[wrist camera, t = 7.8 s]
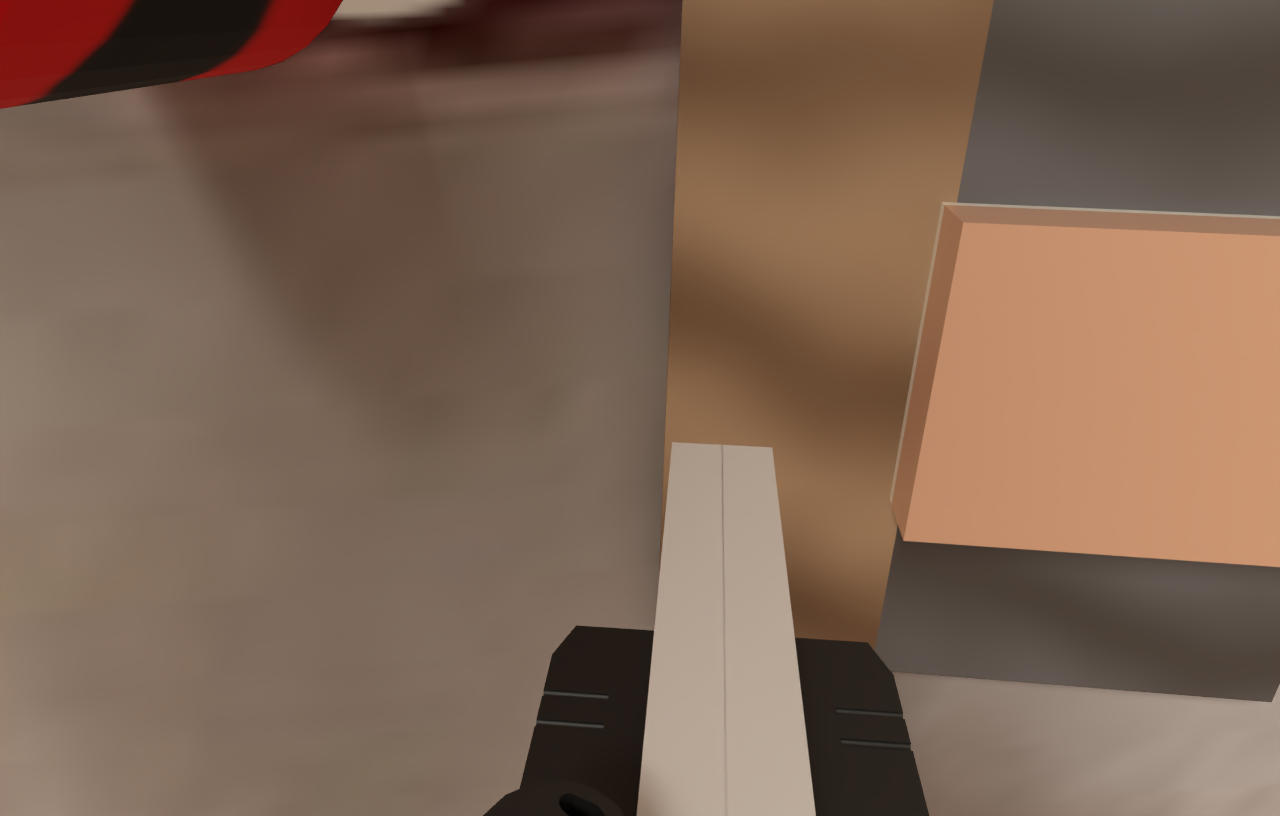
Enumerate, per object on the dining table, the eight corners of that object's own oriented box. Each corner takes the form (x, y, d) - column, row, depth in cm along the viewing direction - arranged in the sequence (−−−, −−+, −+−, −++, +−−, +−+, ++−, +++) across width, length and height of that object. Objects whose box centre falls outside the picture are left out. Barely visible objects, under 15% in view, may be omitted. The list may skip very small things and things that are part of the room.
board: (689, -99, 19) (686, -105, 18) (1576, -83, 17) (1632, -89, 16) (658, 626, 27) (655, 652, 26) (1248, 673, 26) (1271, 702, 25)
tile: (963, 222, 18) (1471, 244, 17) (941, 202, 20) (1400, 221, 19) (903, 540, 21) (1324, 570, 21) (889, 498, 23) (1276, 524, 22)
